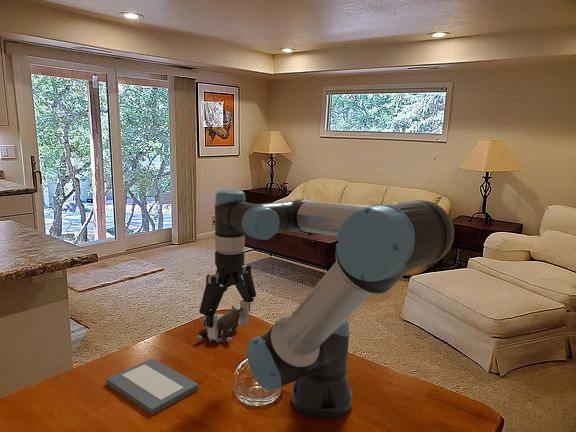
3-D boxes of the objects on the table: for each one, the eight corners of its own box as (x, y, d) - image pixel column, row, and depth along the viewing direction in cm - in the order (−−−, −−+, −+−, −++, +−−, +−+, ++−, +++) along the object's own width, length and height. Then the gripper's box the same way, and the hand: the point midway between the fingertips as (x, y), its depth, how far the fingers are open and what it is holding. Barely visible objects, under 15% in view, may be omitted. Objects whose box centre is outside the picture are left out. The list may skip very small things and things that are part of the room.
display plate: (198, 389, 113) (198, 383, 113) (152, 415, 102) (152, 409, 102) (152, 362, 125) (152, 357, 125) (106, 383, 114) (106, 378, 114)
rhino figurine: (247, 321, 122) (247, 301, 121) (227, 343, 109) (227, 321, 108) (233, 319, 123) (233, 299, 122) (212, 341, 110) (212, 319, 109)
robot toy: (232, 349, 137) (241, 325, 151) (232, 336, 136) (241, 313, 150) (194, 346, 137) (206, 323, 152) (194, 333, 136) (206, 311, 151)
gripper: (250, 240, 123) (249, 313, 127) (183, 256, 105) (184, 341, 109) (270, 245, 118) (268, 320, 122) (204, 263, 100) (204, 351, 105)
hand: (229, 330), depth 116 cm, fingers closed on rhino figurine, 11 cm apart
